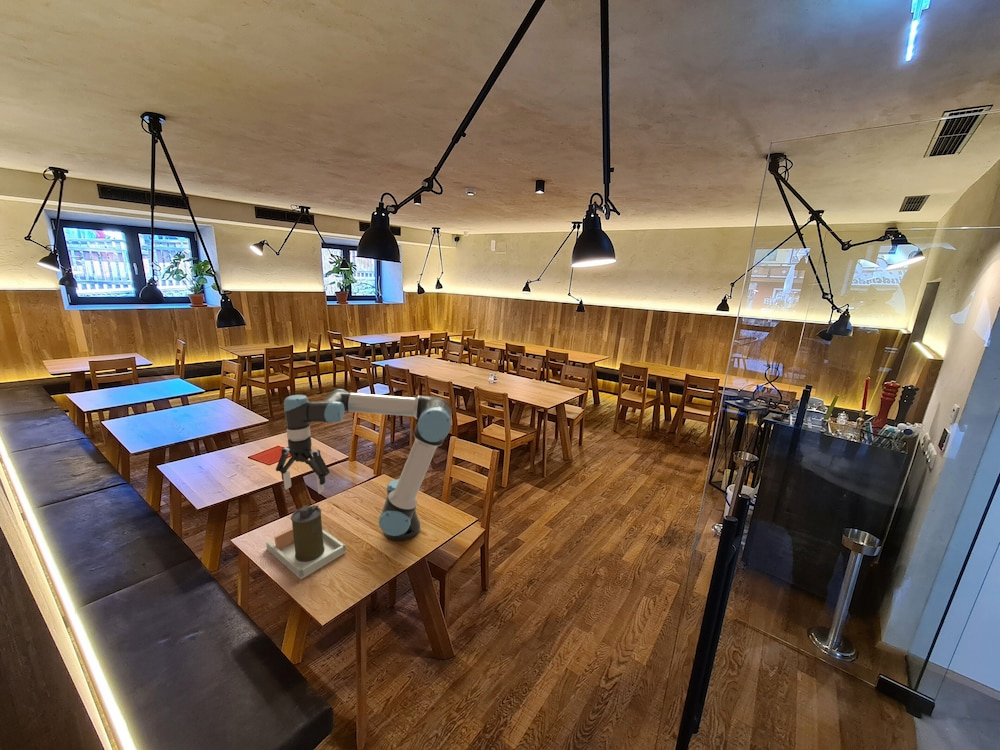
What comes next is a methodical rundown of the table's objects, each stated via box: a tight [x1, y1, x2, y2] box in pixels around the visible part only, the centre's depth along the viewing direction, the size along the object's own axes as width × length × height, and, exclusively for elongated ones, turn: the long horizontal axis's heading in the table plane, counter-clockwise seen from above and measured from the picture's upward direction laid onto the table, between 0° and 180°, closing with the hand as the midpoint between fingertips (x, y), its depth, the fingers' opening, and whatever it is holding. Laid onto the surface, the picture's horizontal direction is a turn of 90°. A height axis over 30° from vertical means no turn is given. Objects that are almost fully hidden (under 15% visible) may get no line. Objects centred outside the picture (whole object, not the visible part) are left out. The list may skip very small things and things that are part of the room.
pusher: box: [274, 526, 294, 550], centre depth 159 cm, size 7×15×6 cm, turn 144°
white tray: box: [265, 528, 347, 580], centre depth 153 cm, size 26×18×3 cm
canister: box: [290, 504, 325, 562], centre depth 149 cm, size 11×10×20 cm
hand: (304, 489), depth 145 cm, fingers open, 13 cm apart
